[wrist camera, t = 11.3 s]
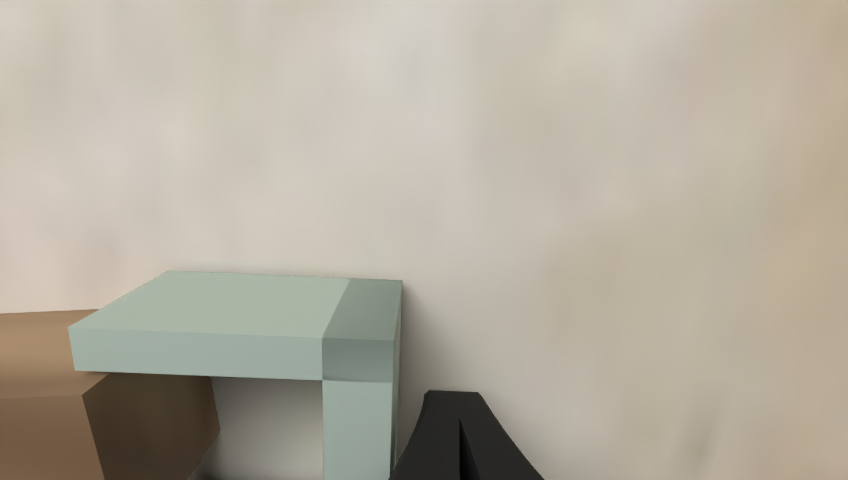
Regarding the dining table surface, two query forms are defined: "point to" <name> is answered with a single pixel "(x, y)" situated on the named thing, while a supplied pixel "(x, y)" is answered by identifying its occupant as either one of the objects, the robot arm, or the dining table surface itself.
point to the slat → (93, 411)
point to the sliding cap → (268, 347)
